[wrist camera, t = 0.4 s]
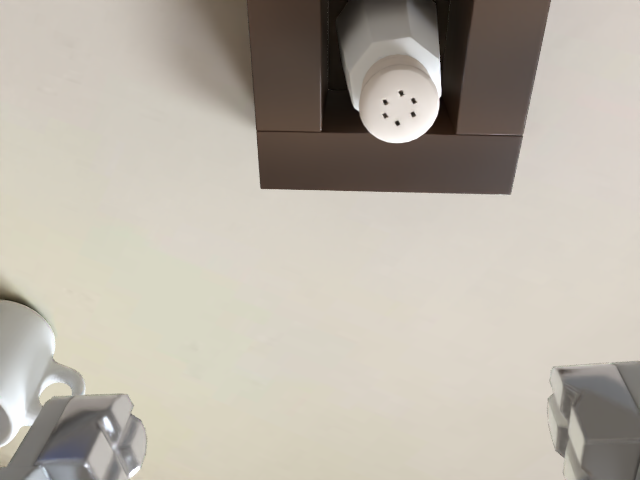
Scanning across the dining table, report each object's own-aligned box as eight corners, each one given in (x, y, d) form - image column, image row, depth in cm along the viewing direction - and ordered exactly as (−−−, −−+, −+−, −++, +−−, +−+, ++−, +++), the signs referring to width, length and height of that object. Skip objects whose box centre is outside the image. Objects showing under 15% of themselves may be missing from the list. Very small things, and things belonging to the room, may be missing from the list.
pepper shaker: (410, -50, 26) (437, -8, 17) (458, 51, 29) (504, 134, 20) (314, 13, 28) (291, 81, 19) (366, 103, 31) (368, 201, 21)
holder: (263, -105, 26) (239, -99, 21) (530, -106, 25) (572, -101, 20) (276, 139, 32) (260, 189, 27) (487, 144, 31) (510, 195, 26)
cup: (117, 322, 41) (70, 410, 34) (95, 388, 45) (49, 478, 38) (-34, 269, 39) (-115, 351, 32) (-42, 343, 43) (-115, 429, 36)
